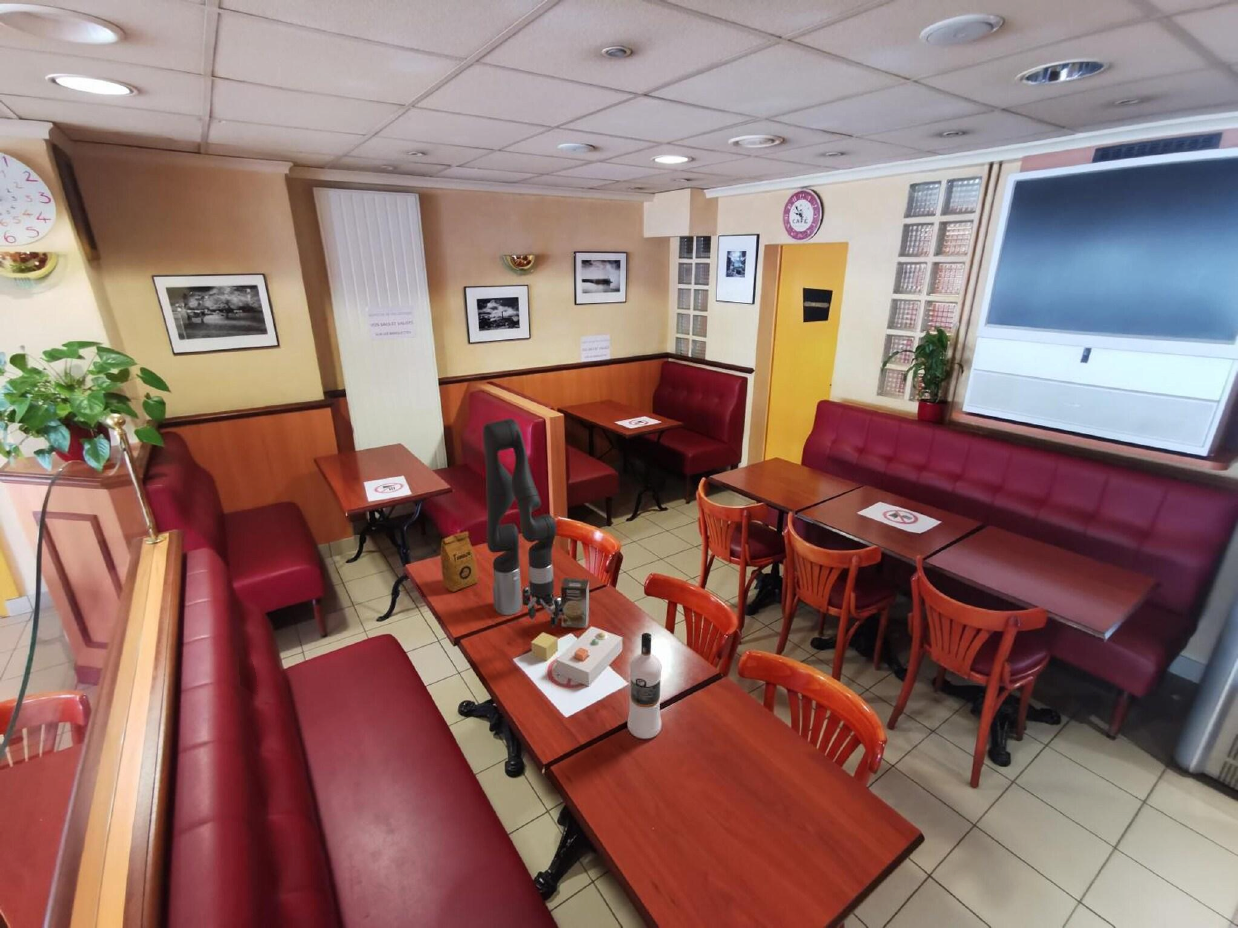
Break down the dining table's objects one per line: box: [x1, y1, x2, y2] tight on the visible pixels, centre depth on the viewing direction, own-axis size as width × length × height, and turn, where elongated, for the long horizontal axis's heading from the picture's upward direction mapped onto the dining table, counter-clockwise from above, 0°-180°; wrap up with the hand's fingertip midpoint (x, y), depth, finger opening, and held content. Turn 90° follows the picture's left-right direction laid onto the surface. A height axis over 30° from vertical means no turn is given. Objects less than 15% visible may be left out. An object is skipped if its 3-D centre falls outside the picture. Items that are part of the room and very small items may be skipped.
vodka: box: [627, 632, 662, 740], centre depth 155 cm, size 9×9×30 cm
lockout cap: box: [530, 632, 559, 662], centre depth 190 cm, size 6×6×5 cm
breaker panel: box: [555, 626, 623, 687], centre depth 186 cm, size 12×20×6 cm, turn 150°
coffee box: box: [560, 577, 590, 629], centre depth 204 cm, size 9×6×16 cm
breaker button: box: [575, 647, 588, 662], centre depth 181 cm, size 3×3×5 cm
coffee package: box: [440, 531, 479, 593], centre depth 227 cm, size 10×12×22 cm
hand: (543, 621), depth 186 cm, fingers open, 8 cm apart
